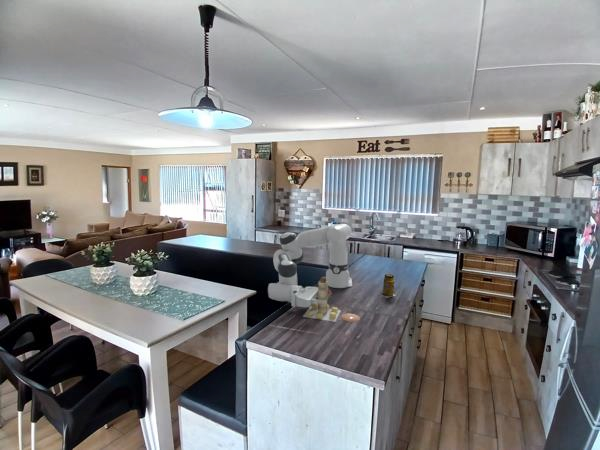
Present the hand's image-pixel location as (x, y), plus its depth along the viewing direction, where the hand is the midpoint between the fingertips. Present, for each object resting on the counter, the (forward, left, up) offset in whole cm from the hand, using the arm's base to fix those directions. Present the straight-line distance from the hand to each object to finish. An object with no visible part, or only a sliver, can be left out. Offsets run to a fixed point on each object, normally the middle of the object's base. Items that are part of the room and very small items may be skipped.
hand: (324, 298), depth 155 cm
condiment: (-41, +28, -9) cm, 51 cm away
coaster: (0, +13, -9) cm, 16 cm away
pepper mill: (0, -1, -8) cm, 8 cm away
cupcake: (-19, -5, -9) cm, 21 cm away
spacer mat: (0, -1, -9) cm, 9 cm away
